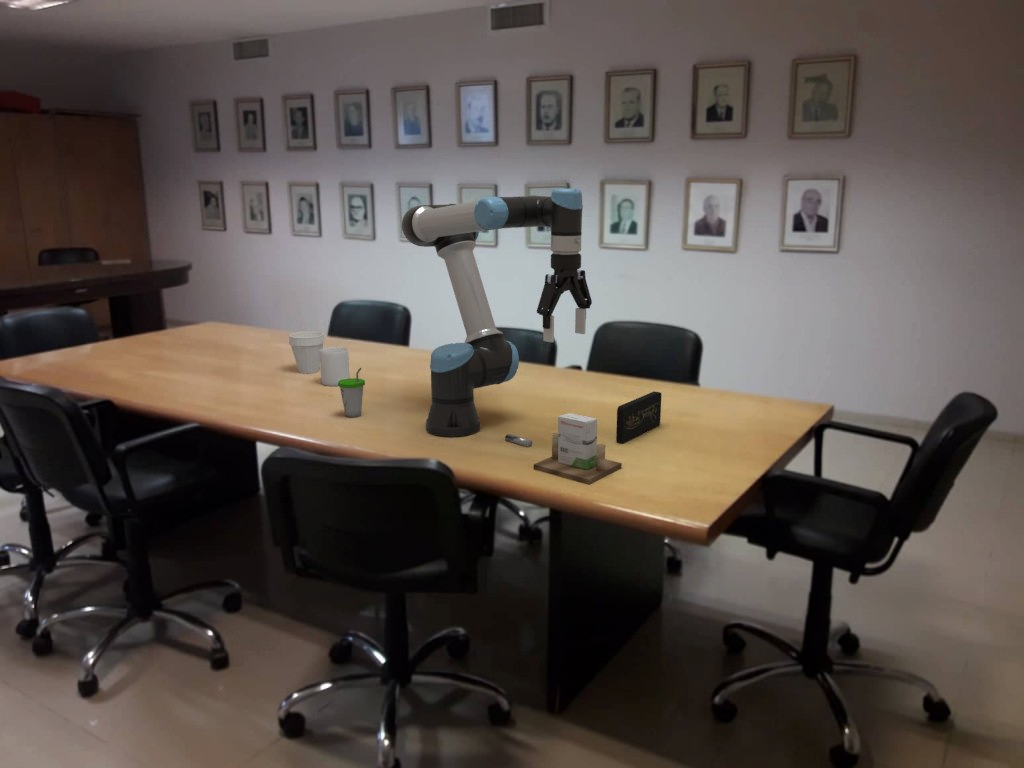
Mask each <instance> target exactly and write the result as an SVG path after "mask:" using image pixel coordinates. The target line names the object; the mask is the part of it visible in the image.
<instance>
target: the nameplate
mask: <svg viewBox="0 0 1024 768" xmlns="http://www.w3.org/2000/svg"><path fill="white" fill-rule="evenodd" d="M661 409H662V392H660V391H651V392H649V393H647V394H644V395H642V396H640V397H637V398H635V399H633V400H630V401H628V402H626V403H623V404H621V405H618V406H617V410H616V434H615V435H616V436H615V438H616V439H615V441H616V443H619V444H625V443H627V442H630V441H632V440H634V439H636V438H637V437H640V436H642V435H644V434H646V433H648V432H649V431H652V430H655V429H656V428H658V427H659V426H660V425H661V418H662V417H661V416H662V415H661V414H662V411H661Z"/></svg>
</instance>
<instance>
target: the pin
mask: <svg viewBox="0 0 1024 768" xmlns="http://www.w3.org/2000/svg"><path fill="white" fill-rule="evenodd" d="M504 440H505V441H506V442H508V441H509V443H513V444H515V445H519V446H522V447H525V446H526V448H529V447H532V445H533V440H531V439H528V438H524V437H521V436H518V435H514V434H510V433H506V434H505V436H504Z"/></svg>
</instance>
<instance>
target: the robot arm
mask: <svg viewBox="0 0 1024 768" xmlns="http://www.w3.org/2000/svg"><path fill="white" fill-rule="evenodd" d="M583 207H584V205H583V192H582V191H581V189H579V188H552V190H551V196H546V195H545V196H544V195H542V196H541V195H536V194H535V195H525V196H523V195H522V196H488V197H482V198H480V199H478V200H476V201H474V200H473V201H468V202H464V203H458V204H457V203H449V204H421V205H417V206H413V207H411V208H410V209H409V210H407V211H406V212H405V213H404V215H403V217H402V220H401V229H402V230H401V231H402V234H403V236H404V237H405V239H407V241H408V242H410V243H411V244H413V245H415V246H418V247H423V248H424V247H425V248H426V247H435V251H436V254H437V257H439V258H441V259H443V260H444V263H445V266H446V270H447V274H448V277H449V280H450V283H451V287H452V290H453V293H454V296H455V299H456V303H457V307H458V310H459V313H460V317H461V320H462V324H463V327H464V330H465V334H466V337H467V338H466V340H465V342H455V343H453V342H452V343H446V344H444V345H439V346H438V347H436V348H435V349H433V351H432V352H431V354H430V364H429V370H430V384H431V385H430V387H431V404H430V407H429V409H428V416H427V418H426V421H425V430H426V432H427V433H429V434H430V435H434V436H438V437H447V438H448V437H451V438H453V437H465V436H469V435H474V434H476V433H477V432H479V431H480V430H481V419H480V417H479V415H478V411H477V407H476V405H475V400H474V399H475V398H474V395H475V393H474V392H475V391H474V390H476V389H479V388H484V387H490V386H493V385H502V384H503V383H507V382H509V381H511V380H512V379H513V378H514V377H515V376H516V374H517V370H518V369H519V364H520V357H519V352H518V349H517V347H516V345H515V344H513V342H511V341H509V340H506V339H505V336H504V333H503V331H500V330H499V329H498V328H497V326H496V324H495V320H494V317H493V314H492V310H491V307H490V304H489V301H488V298H487V294H486V291H485V286H484V284H483V280H482V278H481V274H480V270H479V267H478V264H477V261H476V257H475V254H474V250H475V248H476V246H477V243H476V241H477V239H478V237H479V233H480V232H483V231H484V232H485V231H492V230H501V229H513V228H516V229H518V228H531V227H532V228H534V227H537V228H538V227H539V228H540V227H541V228H550V251H551V252H552V253H551V254H550V268H551V269H553V270H554V271H553V274H549V273H548V274H546V273H545V277H544V285H543V289H542V290H541V291H542V292H541V295H540V299H539V302H538V305H537V308H536V313H537V314H538V315H540V316H542V329H543V331H542V335H543V336H542V337H543V338H542V339H543V340H542V341H543V342H548V343H554V342H555V315H553V312H554V310H555V308H556V306H557V305H558V302H559V300H560V298H561V296H562V295H563V294H564V293H565V292H567V291H569V292H570V294H571V297H572V298H573V301H574V302H575V303H576V306H577V307H575V312H574V313H575V317H574V319H575V320H574V322H575V324H574V327H575V328H574V333H575V334H578V335H579V334H580V335H585V334H586V323H587V322H586V320H587V309H588V310H589V309H591V305H593V304H592V303H593V300H592V297H591V293H590V290H589V286H588V283H587V279H586V270H582V269H581V267H582V255H581V253H580V252H581V251H582V234H583V233H582V231H583V230H582V229H583V227H582V226H583Z"/></svg>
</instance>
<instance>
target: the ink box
mask: <svg viewBox="0 0 1024 768" xmlns="http://www.w3.org/2000/svg"><path fill="white" fill-rule="evenodd" d="M557 430H558V431H557V434H558V462H559V463H562V464H566V465H570V466H574V467H578V468H582V469H586V470H587V469H589V468H591V467H593V466H595V465H596V453H597V445H598V418H595V417H590V416H585V415H581V414H577V413H572V412H568V413H565V414H562V415H559V416H557Z"/></svg>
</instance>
